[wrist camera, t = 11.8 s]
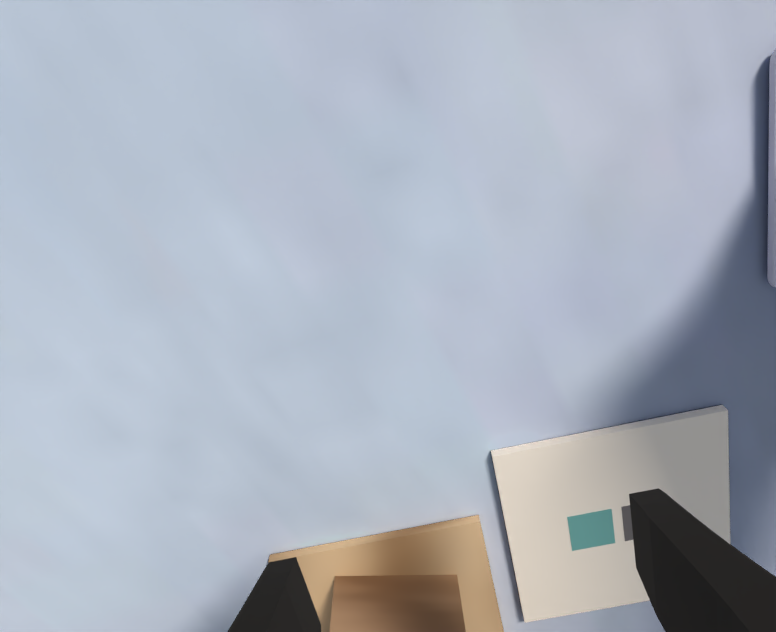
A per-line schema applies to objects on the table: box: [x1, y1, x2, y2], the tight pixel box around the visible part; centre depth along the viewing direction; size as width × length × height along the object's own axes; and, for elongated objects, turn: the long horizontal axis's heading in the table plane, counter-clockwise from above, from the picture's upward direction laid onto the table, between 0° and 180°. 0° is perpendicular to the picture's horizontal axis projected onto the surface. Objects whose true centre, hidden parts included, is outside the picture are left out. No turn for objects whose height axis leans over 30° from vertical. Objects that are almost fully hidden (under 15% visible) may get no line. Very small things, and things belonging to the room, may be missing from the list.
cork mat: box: [268, 515, 504, 632], centre depth 26 cm, size 9×9×1 cm
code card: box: [491, 405, 730, 623], centre depth 24 cm, size 9×9×1 cm
